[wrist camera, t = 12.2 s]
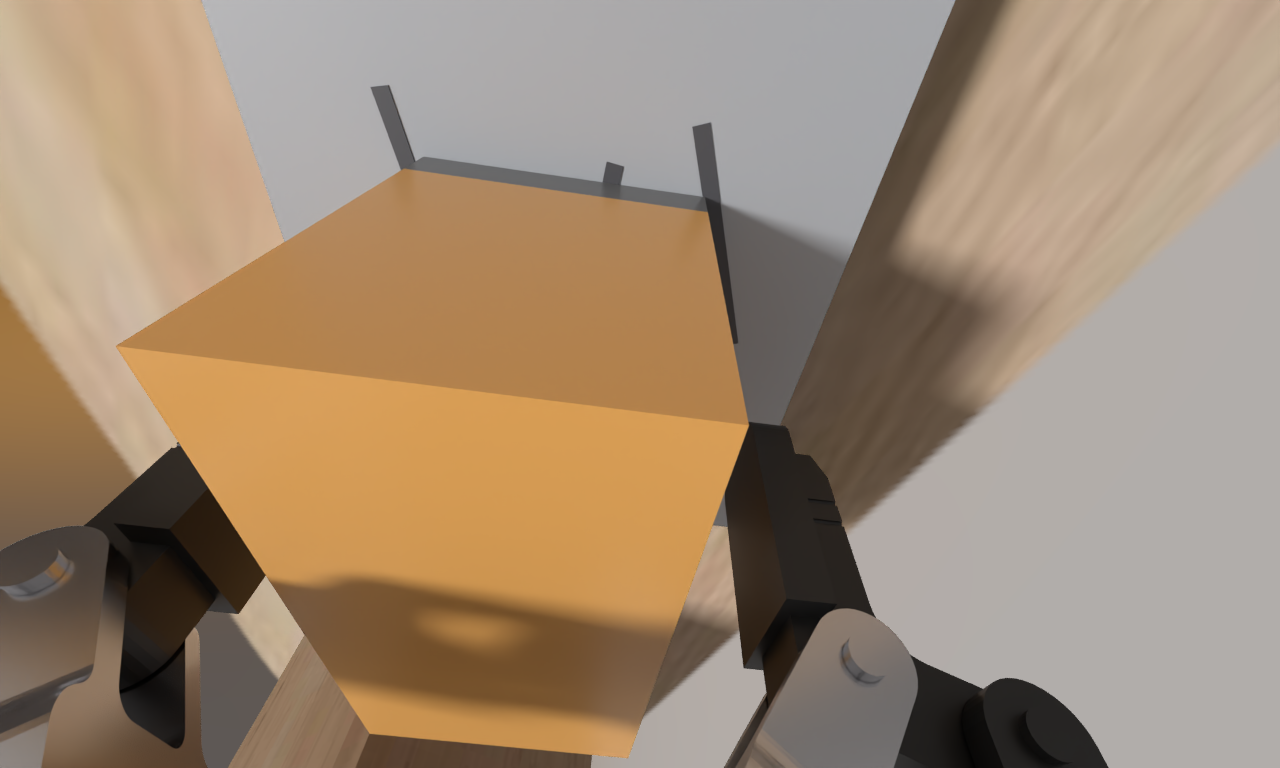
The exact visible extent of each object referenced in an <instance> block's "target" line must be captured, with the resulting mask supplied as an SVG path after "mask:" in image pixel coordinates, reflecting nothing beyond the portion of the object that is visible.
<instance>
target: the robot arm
mask: <svg viewBox="0 0 1280 768" xmlns="http://www.w3.org/2000/svg"><path fill="white" fill-rule="evenodd" d="M748 423H749V427H748V429H747V432H746V435H745V438H744V440H743V443H742V446H741V449H740V451H739V454H738V457H737V460H736V462H735V465H734V468H733V471H732V473H731V476H730V479H729V482H728V485H727V487H726V490H725V507H726V516H727V525H728V534H729V543H730V552H731V560H732V569H733V578H734V587H735V596H736V605H737V613H738V622H739V631H740V640H741V648H742V658H743V666H744V668H747V669H757V670H764V677H765V684H766V692H767V693H766V694H765V696H764V697H763V699H762V701H761V702H760V704H759V706H758V708H757V710H756V711H755V713H754V715H753V717H752V718H751V720H750V722H749V724H748V725H747V727H746V729H745V731H744V733H743V734H742V736H741V738H740V740H739V741H738V743H737V745H736V747H735V749H734V750H733V752H732V754H731V756H730V757H729V759H728V761H727V763H726V765H725V766H724V768H1108V766H1107V764H1106V762H1105V760H1104V759H1103V757H1102V755H1101V753H1100V751H1099V749H1098V747H1097V746H1096V744H1095V742H1094V741H1093V739H1092V737H1091V736H1090V734H1089V733H1088V731H1087V730H1086V729H1085V727H1084V726H1083V725H1082V723H1080V721H1079V720H1078V719H1077V718H1076V717H1075V715H1074V714H1073V713H1072V712H1071V711H1070V710H1069V709H1068V708H1066V707H1065V706H1064V705H1063V704H1062V703H1061V702H1060V701H1058V700H1057V699H1056V698H1055V697H1053V696H1052V695H1050V694H1049V693H1047V692H1046V691H1044V690H1043V689H1041V688H1039V687H1037V686H1035V685H1033V684H1031V683H1028V682H1026V681H1023V680H1019V679H1014V678H1005V679H999V680H997V681H995V682H993V683H991V684H990V685H988V686H987V687H986V688H984V689H982V688H980V687H977V686H975V685H973V684H971V683H968V682H966V681H964V680H961V679H959V678H957V677H955V676H952V675H950V674H948V673H945V672H943V671H941V670H939V669H936V668H934V667H932V666H930V665H927V664H925V663H923V662H921V661H919V660H918V659H916V658H915V657H913V656H911V655H910V654H909V652H908V650H907V649H906V647H905V646H904V644H903V643H902V641H901V640H900V639H899V638H898V637H897V635H896V634H895V633H894V632H893V631H892V630H891V629H890V628H889V627H887V626H886V625H885V624H884V623H882V622H881V621H880V620H878V619H876V617H875V615H874V613H873V612H872V609H871V606H870V604H869V601H868V598H867V595H866V592H865V589H864V586H863V583H862V580H861V577H860V574H859V571H858V568H857V565H856V562H855V559H854V556H853V553H852V550H851V547H850V544H849V541H848V538H847V535H846V532H845V529H844V527H842V520H841V517H840V514H839V511H838V508H837V506H835V499H834V496H833V493H832V490H831V487H830V484H829V481H828V478H827V477H826V475H825V474H824V473H823V471H822V470H821V469H820V468H819V466H818V465H817V464H816V463H815V461H814V460H813V459H812V458H811V456H808V455H800V454H795V452H794V448H793V445H792V441H791V437H790V434H789V431H788V429H787V428H786V427H785V426H780V425H772V424H763V423H755V422H748ZM265 576H266V575H265V573H264V572H263V570H262V569H261V567H260V566H259V564H258V563H257V561H256V560H255V558H254V557H253V555H252V554H251V552H250V550H249V549H248V547H247V546H246V544H245V543H244V541H243V540H242V538H241V537H240V535H239V534H238V532H237V531H236V529H235V528H234V526H233V525H232V523H231V521H230V520H229V518H228V517H227V515H226V514H225V512H224V511H223V509H222V508H221V506H220V505H219V503H218V502H217V500H216V499H215V497H214V496H213V494H212V492H211V491H210V489H209V488H208V486H207V485H206V483H205V482H204V480H203V479H202V477H201V476H200V474H199V473H198V471H197V470H196V468H195V467H194V465H193V464H192V462H191V460H190V459H189V457H188V456H187V454H186V453H185V451H184V450H183V448H182V447H181V445H180V444H179V442H178V443H177V447H176V448H171V449H170V450H169V451H168V452H166V453H165V454H164V455H163V456H162V457H161V458H160V459H159V460H157V461H156V462H155V463H154V464H153V465H152V466H151V467H150V468H149V469H147V470H146V471H145V472H144V473H143V474H142V475H141V476H140V477H138V478H137V479H136V480H135V481H134V482H133V483H132V484H131V485H130V486H129V487H127V488H126V489H125V490H124V491H123V492H122V493H121V494H120V495H118V496H117V497H116V498H115V499H114V500H113V501H112V502H111V503H110V504H108V506H106V507H105V508H104V509H103V510H102V511H101V512H100V513H98V514H97V515H96V516H95V517H94V518H93V519H91V520H90V521H89V522H88V523H87V524H85V525H84V526H67V527H61V528H56V529H51V530H47V531H44V532H41V533H38V534H35V535H32V536H29V537H27V538H25V539H22V540H20V541H18V542H16V543H14V544H12V545H10V546H8V547H6V548H4V549H2V550H1V551H0V768H207V765H206V763H205V760H204V757H203V752H202V746H201V707H200V706H201V705H200V704H201V701H200V653H199V651H200V649H199V634H198V632H197V630H196V628H195V626H196V625H197V623H198V622H199V621H200V619H201V618H202V617H203V615H204V614H205V613H206V611H214V612H224V613H233V614H239V613H240V611H241V610H242V608H243V607H244V606H245V604H246V603H247V601H248V600H249V598H250V597H251V596H252V594H253V593H254V591H255V590H256V589H257V587H258V586H259V584H260V583H261V581H262V580H263V579H264V577H265Z"/></svg>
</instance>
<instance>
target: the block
mask: <svg viewBox="0 0 1280 768" xmlns="http://www.w3.org/2000/svg"><path fill="white" fill-rule="evenodd" d="M591 759H592V755H588V754H578V753H567V752H557V751H546V750H536V749H525V748H515V747H504V746H494V745H483V744H473V743H462V742H452V741H441V740H431V739H420V738H409V737H399V736H388V735H378V734H369V732H368V730H367V729H366V727H365V726H364V724H363V723H362V721H361V720H360V718H359V717H358V715H357V714H356V712H355V711H354V709H353V708H352V706H351V705H350V703H349V702H348V700H347V698H346V697H345V695H344V694H343V692H342V691H341V689H340V688H339V686H338V685H337V683H336V682H335V680H334V679H333V677H332V676H331V674H330V673H329V671H328V669H327V668H326V666H325V665H324V663H323V662H322V660H321V659H320V657H319V656H318V654H317V653H316V651H315V650H314V648H313V647H312V645H311V644H310V642H309V640H308V639H307V637H306V636H305V635H304V637H303V639H302V640H301V642H300V644H299V646H298V647H297V649H296V651H295V653H294V654H293V656H292V658H291V660H290V661H289V663H288V665H287V666H286V668H285V670H284V672H283V673H282V675H281V677H280V679H279V680H278V682H277V684H276V685H275V687H274V689H273V691H272V692H271V694H270V696H269V698H268V699H267V701H266V703H265V705H264V706H263V708H262V710H261V711H260V713H259V715H258V717H257V718H256V720H255V722H254V724H253V725H252V727H251V729H250V730H249V732H248V734H247V736H246V737H245V740H244V741H243V743H242V744H241V746H240V748H239V750H238V751H237V753H236V755H235V756H234V758H233V760H232V762H231V763H230V765H229V767H228V768H591Z"/></svg>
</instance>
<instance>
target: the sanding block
mask: <svg viewBox="0 0 1280 768" xmlns="http://www.w3.org/2000/svg"><path fill="white" fill-rule="evenodd" d="M116 348H117V349H118V351H119V352H120V354H121V355H122V357H123V358H124V360H125V361H126V363H127V364H128V366H129V367H130V369H131V370H132V372H133V373H134V375H135V377H136V378H137V380H138V381H139V383H140V384H141V386H142V387H143V389H144V390H145V392H146V393H147V395H148V396H149V398H150V399H151V401H152V402H153V404H154V406H155V407H156V409H157V410H158V412H159V413H160V415H161V416H162V418H163V419H164V421H165V422H166V424H167V425H168V427H169V428H170V430H171V431H172V433H173V435H174V436H175V438H176V439H177V441H178V442H179V444H180V445H181V447H182V448H183V450H184V451H185V453H186V454H187V456H188V457H189V459H190V460H191V462H192V464H193V465H194V467H195V468H196V470H197V471H198V473H199V474H200V476H201V477H202V479H203V480H204V482H205V483H206V485H207V486H208V488H209V489H210V491H211V492H212V494H213V496H214V497H215V499H216V500H217V502H218V503H219V505H220V506H221V508H222V509H223V511H224V512H225V514H226V515H227V517H228V518H229V520H230V521H231V523H232V525H233V526H234V528H235V529H236V531H237V532H238V534H239V535H240V537H241V538H242V540H243V541H244V543H245V544H246V546H247V547H248V549H249V550H250V552H251V554H252V555H253V557H254V558H255V560H256V561H257V563H258V564H259V566H260V567H261V569H262V570H263V572H264V573H265V575H266V576H267V578H268V579H269V581H270V583H271V584H272V586H273V587H274V589H275V590H276V592H277V593H278V595H279V596H280V598H281V599H282V601H283V602H284V604H285V605H286V607H287V608H288V610H289V611H290V613H291V615H292V616H293V618H294V619H295V621H296V622H297V624H298V625H299V627H300V628H301V630H302V631H303V633H304V634H305V636H306V637H307V639H308V640H309V642H310V644H311V645H312V647H313V648H314V650H315V651H316V653H317V654H318V656H319V657H320V659H321V660H322V662H323V663H324V665H325V666H326V668H327V669H328V671H329V673H330V674H331V676H332V677H333V679H334V680H335V682H336V683H337V685H338V686H339V688H340V689H341V691H342V692H343V694H344V695H345V697H346V698H347V700H348V702H349V703H350V705H351V706H352V708H353V709H354V711H355V712H356V714H357V715H358V717H359V718H360V720H361V721H362V723H363V724H364V726H365V727H366V729H367V730H368V732H369V734H378V735H388V736H399V737H409V738H420V739H431V740H441V741H452V742H462V743H473V744H483V745H494V746H504V747H515V748H525V749H536V750H546V751H557V752H567V753H578V754H588V755H599V756H609V757H621V758H628V757H629V754H630V752H631V749H632V746H633V743H634V740H635V738H636V735H637V732H638V730H639V726H640V724H641V721H642V719H643V716H644V713H645V710H646V708H647V705H648V702H649V699H650V697H651V694H652V691H653V688H654V686H655V683H656V680H657V677H658V675H659V672H660V669H661V666H662V663H663V661H664V658H665V655H666V652H667V650H668V647H669V644H670V641H671V639H672V636H673V633H674V630H675V628H676V625H677V622H678V619H679V617H680V614H681V611H682V608H683V606H684V603H685V600H686V597H687V595H688V592H689V589H690V586H691V584H692V581H693V578H694V575H695V573H696V570H697V567H698V564H699V562H700V559H701V556H702V553H703V551H704V548H705V545H706V542H707V540H708V537H709V534H710V531H711V529H712V526H713V523H714V520H715V518H716V515H717V512H718V509H719V507H720V504H721V501H722V498H723V496H724V493H725V490H726V487H727V485H728V482H729V479H730V476H731V473H732V471H733V468H734V465H735V462H736V460H737V457H738V454H739V451H740V449H741V446H742V443H743V440H744V438H745V435H746V432H747V429H748V427H749V423H748V418H747V413H746V407H745V402H744V397H743V392H742V387H741V382H740V376H739V371H738V366H737V361H736V356H735V351H734V345H733V340H732V335H731V330H730V325H729V319H728V314H727V309H726V304H725V299H724V294H723V288H722V283H721V278H720V273H719V268H718V263H717V257H716V252H715V247H714V242H713V237H712V231H711V226H710V221H709V216H708V211H707V206H706V200H705V197H700V196H693V195H686V194H679V193H672V192H666V191H659V190H652V189H645V188H638V187H631V186H624V185H617V184H610V183H603V182H596V181H589V180H582V179H576V178H569V177H562V176H555V175H548V174H541V173H534V172H527V171H520V170H513V169H506V168H499V167H492V166H486V165H479V164H472V163H465V162H458V161H451V160H444V159H437V158H430V157H422V158H420V159H419V160H417V161H415V162H414V163H412V164H411V165H409V166H407V167H406V168H404V169H402V170H401V171H399V172H398V173H396V174H394V175H393V176H391V177H389V178H388V179H386V180H385V181H383V182H381V183H380V184H378V185H376V186H375V187H373V188H372V189H370V190H368V191H367V192H365V193H363V194H362V195H360V196H359V197H357V198H355V199H354V200H352V201H350V202H349V203H347V204H346V205H344V206H342V207H341V208H339V209H337V210H336V211H334V212H333V213H331V214H329V215H328V216H326V217H324V218H323V219H321V220H320V221H318V222H316V223H315V224H313V225H311V226H310V227H308V228H307V229H305V230H303V231H302V232H300V233H299V234H297V235H295V236H294V237H292V238H290V239H289V240H287V241H286V242H284V243H282V244H281V245H279V246H277V247H276V248H274V249H273V250H271V251H269V252H268V253H266V254H264V255H263V256H261V257H260V258H258V259H256V260H255V261H253V262H251V263H250V264H248V265H247V266H245V267H243V268H242V269H240V270H238V271H237V272H235V273H234V274H232V275H230V276H229V277H227V278H225V279H224V280H222V281H221V282H219V283H217V284H216V285H214V286H212V287H211V288H209V289H208V290H206V291H204V292H203V293H201V294H199V295H198V296H196V297H195V298H193V299H191V300H190V301H188V302H186V303H185V304H183V305H182V306H180V307H178V308H177V309H175V310H173V311H172V312H170V313H169V314H167V315H165V316H164V317H162V318H161V319H159V320H157V321H156V322H154V323H152V324H151V325H149V326H148V327H146V328H144V329H143V330H141V331H139V332H138V333H136V334H135V335H133V336H131V337H130V338H128V339H126V340H125V341H123V342H122V343H120V344H118V345H117V346H116Z"/></svg>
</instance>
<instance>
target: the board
mask: <svg viewBox="0 0 1280 768" xmlns="http://www.w3.org/2000/svg"><path fill="white" fill-rule="evenodd" d="M201 1H202V4H203V7H204V9H205V12H206V15H207V18H208V21H209V24H210V27H211V30H212V33H213V36H214V38H215V41H216V44H217V47H218V50H219V53H220V56H221V59H222V62H223V65H224V68H225V70H226V73H227V76H228V79H229V82H230V85H231V88H232V91H233V94H234V97H235V99H236V102H237V105H238V108H239V111H240V114H241V117H242V120H243V123H244V126H245V128H246V131H247V134H248V137H249V140H250V143H251V146H252V149H253V152H254V155H255V157H256V160H257V163H258V166H259V169H260V172H261V175H262V178H263V181H264V184H265V187H266V189H267V192H268V195H269V198H270V201H271V204H272V207H273V210H274V213H275V216H276V218H277V221H278V224H279V227H280V230H281V233H282V236H283V239H284V242H286V241H287V240H289V239H290V238H292V237H294V236H295V235H297V234H299V233H300V232H302V231H303V230H305V229H307V228H308V227H310V226H311V225H313V224H315V223H316V222H318V221H320V220H321V219H323V218H324V217H326V216H328V215H329V214H331V213H333V212H334V211H336V210H337V209H339V208H341V207H342V206H344V205H346V204H347V203H349V202H350V201H352V200H354V199H355V198H357V197H359V196H360V195H362V194H363V193H365V192H367V191H368V190H370V189H372V188H373V187H375V186H376V185H378V184H380V183H381V182H383V181H385V180H386V179H388V178H389V177H391V176H393V175H394V174H396V173H398V172H399V171H401V170H402V169H404V168H406V167H407V166H409V165H411V164H412V163H414V162H415V161H417V160H419V159H420V158H422V157H430V158H437V159H444V160H451V161H458V162H465V163H472V164H479V165H486V166H492V167H499V168H506V169H513V170H520V171H527V172H534V173H541V174H548V175H555V176H562V177H569V178H576V179H582V180H589V181H596V182H603V183H610V184H617V185H624V186H631V187H638V188H645V189H652V190H659V191H666V192H672V193H679V194H686V195H693V196H700V197H705V200H706V206H707V211H708V216H709V221H710V226H711V231H712V237H713V242H714V247H715V252H716V257H717V263H718V268H719V273H720V278H721V283H722V288H723V294H724V299H725V304H726V309H727V314H728V319H729V325H730V330H731V335H732V340H733V345H734V351H735V356H736V361H737V366H738V371H739V376H740V382H741V387H742V392H743V397H744V402H745V407H746V413H747V418H748V422H755V423H763V424H772V425H780V424H781V422H782V419H783V417H784V415H785V412H786V410H787V407H788V405H789V403H790V400H791V398H792V395H793V393H794V390H795V388H796V386H797V383H798V381H799V378H800V376H801V373H802V371H803V369H804V366H805V364H806V361H807V359H808V356H809V354H810V352H811V349H812V347H813V344H814V342H815V339H816V337H817V335H818V332H819V330H820V327H821V325H822V322H823V320H824V318H825V315H826V313H827V310H828V308H829V306H830V303H831V301H832V298H833V296H834V293H835V291H836V289H837V286H838V284H839V281H840V279H841V276H842V274H843V272H844V269H845V267H846V264H847V262H848V259H849V257H850V255H851V252H852V250H853V247H854V245H855V242H856V240H857V238H858V235H859V233H860V230H861V228H862V225H863V223H864V221H865V218H866V216H867V213H868V211H869V209H870V206H871V204H872V201H873V199H874V196H875V194H876V192H877V189H878V187H879V184H880V182H881V179H882V177H883V175H884V172H885V170H886V167H887V165H888V162H889V160H890V158H891V155H892V153H893V150H894V148H895V145H896V143H897V141H898V138H899V136H900V133H901V131H902V128H903V126H904V124H905V121H906V119H907V116H908V114H909V112H910V109H911V107H912V104H913V102H914V99H915V97H916V95H917V92H918V90H919V87H920V85H921V82H922V80H923V78H924V75H925V73H926V70H927V68H928V65H929V63H930V61H931V58H932V56H933V53H934V51H935V48H936V46H937V44H938V41H939V39H940V36H941V34H942V31H943V29H944V27H945V24H946V22H947V19H948V17H949V15H950V12H951V10H952V7H953V5H954V2H955V0H201ZM713 525H716V526H725V527H728V525H727V516H726V507H725V493H724V496H723V498H722V501H721V504H720V507H719V509H718V512H717V515H716V518H715V520H714V523H713Z"/></svg>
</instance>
